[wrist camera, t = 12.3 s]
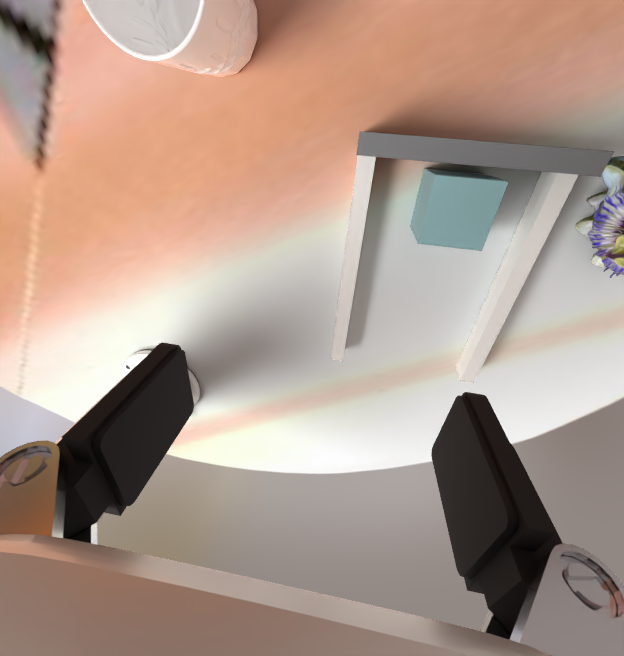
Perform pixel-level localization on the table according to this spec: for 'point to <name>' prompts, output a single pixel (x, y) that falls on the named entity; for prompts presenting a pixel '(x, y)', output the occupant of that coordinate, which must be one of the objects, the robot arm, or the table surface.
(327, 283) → the table surface
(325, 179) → the table surface
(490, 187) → the block
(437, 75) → the table surface
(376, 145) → the guide channel
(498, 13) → the table surface
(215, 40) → the white cup
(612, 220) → the passion flower
